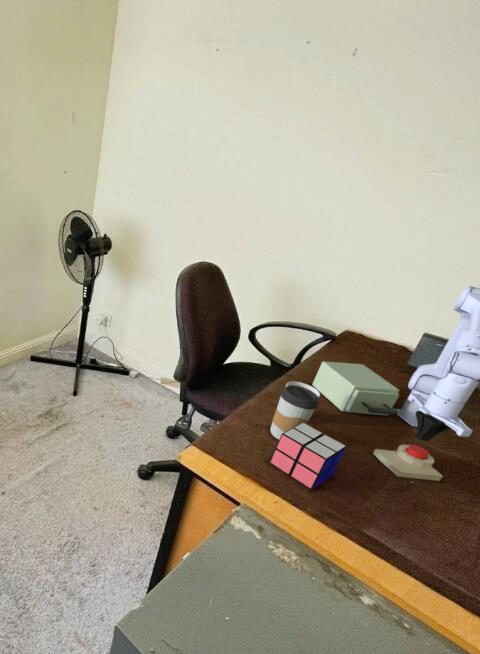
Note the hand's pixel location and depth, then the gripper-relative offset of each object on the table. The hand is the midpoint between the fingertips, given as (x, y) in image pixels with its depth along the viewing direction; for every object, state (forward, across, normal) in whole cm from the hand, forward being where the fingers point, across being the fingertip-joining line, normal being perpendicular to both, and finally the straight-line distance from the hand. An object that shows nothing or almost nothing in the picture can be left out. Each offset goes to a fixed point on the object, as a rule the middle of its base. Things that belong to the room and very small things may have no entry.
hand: (422, 439), depth 106 cm
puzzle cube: (+8, +7, -32) cm, 33 cm away
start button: (+5, +1, 0) cm, 5 cm away
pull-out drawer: (+7, -24, +3) cm, 25 cm away
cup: (+8, -16, -21) cm, 27 cm away
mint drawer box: (+8, -28, +3) cm, 29 cm away
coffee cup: (+8, -6, -29) cm, 30 cm away
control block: (+8, +2, -3) cm, 9 cm away
